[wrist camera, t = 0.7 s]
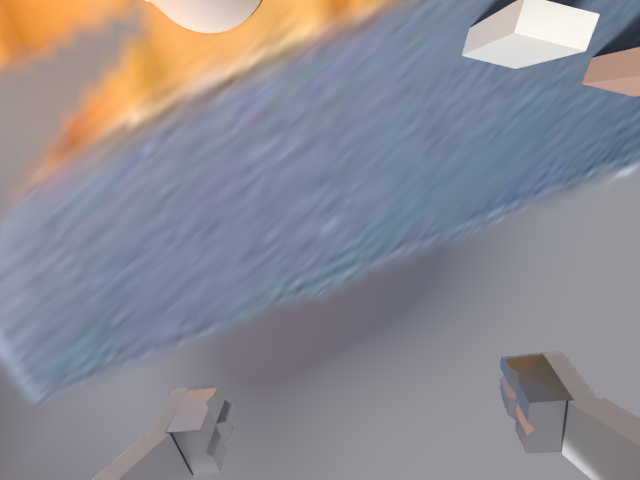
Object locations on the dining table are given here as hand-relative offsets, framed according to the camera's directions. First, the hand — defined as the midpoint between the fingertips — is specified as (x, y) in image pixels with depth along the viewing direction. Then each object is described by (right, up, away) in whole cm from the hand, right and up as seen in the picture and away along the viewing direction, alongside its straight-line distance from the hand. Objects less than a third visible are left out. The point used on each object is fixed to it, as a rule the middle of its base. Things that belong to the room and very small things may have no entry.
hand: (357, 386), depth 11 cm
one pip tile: (+20, +27, +34) cm, 47 cm away
